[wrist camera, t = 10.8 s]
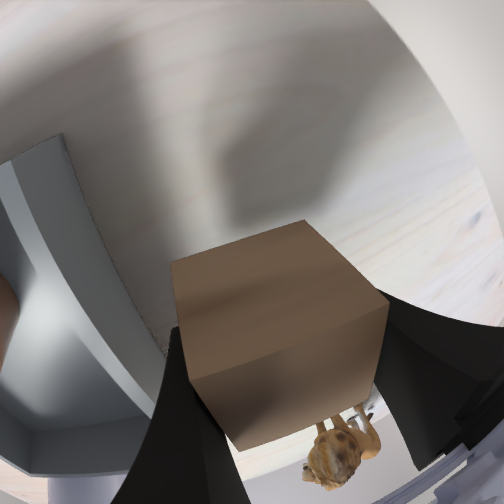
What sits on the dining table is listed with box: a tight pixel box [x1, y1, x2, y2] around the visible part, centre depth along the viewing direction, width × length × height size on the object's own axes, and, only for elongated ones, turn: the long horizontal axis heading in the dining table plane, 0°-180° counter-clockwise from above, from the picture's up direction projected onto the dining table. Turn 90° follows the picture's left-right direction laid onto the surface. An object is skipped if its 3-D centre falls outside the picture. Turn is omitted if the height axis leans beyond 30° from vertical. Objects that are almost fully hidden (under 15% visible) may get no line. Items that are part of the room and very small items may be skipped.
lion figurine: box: [302, 403, 381, 491], centre depth 26 cm, size 15×5×9 cm, turn 59°
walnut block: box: [170, 220, 390, 452], centre depth 10 cm, size 5×5×5 cm
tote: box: [0, 133, 167, 478], centre depth 12 cm, size 20×17×5 cm
